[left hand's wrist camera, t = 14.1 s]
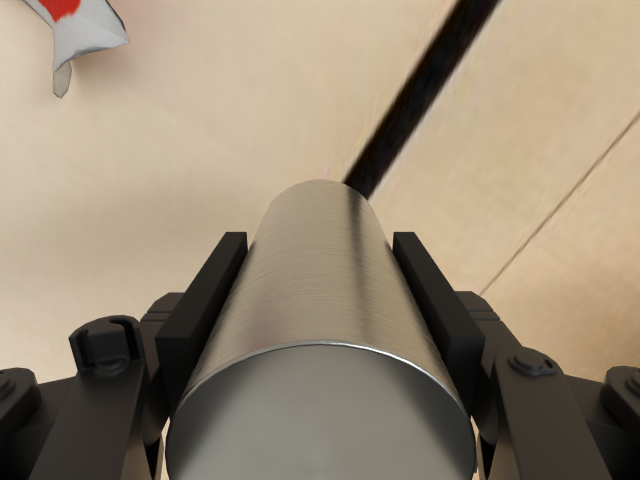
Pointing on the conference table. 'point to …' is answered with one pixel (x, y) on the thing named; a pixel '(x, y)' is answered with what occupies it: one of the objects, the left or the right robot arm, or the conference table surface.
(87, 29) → the fish
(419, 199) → the conference table surface
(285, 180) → the conference table surface
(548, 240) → the conference table surface
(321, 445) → the canister
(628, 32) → the conference table surface
